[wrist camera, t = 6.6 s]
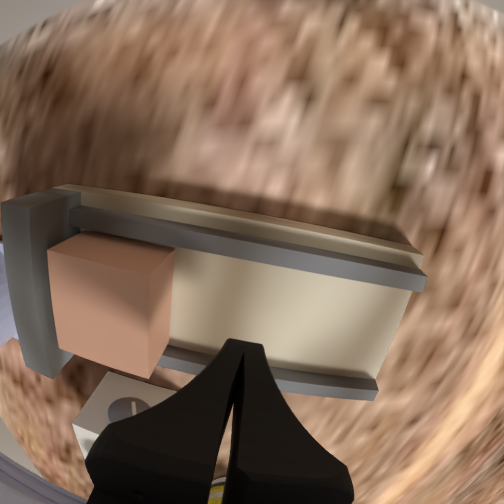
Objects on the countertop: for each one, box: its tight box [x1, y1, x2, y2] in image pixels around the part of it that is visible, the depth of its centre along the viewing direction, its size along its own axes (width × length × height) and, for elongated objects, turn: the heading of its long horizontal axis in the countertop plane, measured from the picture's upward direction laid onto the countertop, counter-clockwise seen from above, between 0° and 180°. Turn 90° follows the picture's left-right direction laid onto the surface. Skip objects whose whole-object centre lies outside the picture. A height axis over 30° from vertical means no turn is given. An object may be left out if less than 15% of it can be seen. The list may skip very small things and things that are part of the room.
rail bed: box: [1, 184, 428, 401], centre depth 14 cm, size 19×9×6 cm, turn 80°
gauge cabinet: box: [72, 371, 177, 459], centre depth 18 cm, size 6×6×6 cm
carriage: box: [47, 231, 176, 379], centre depth 14 cm, size 5×5×3 cm
